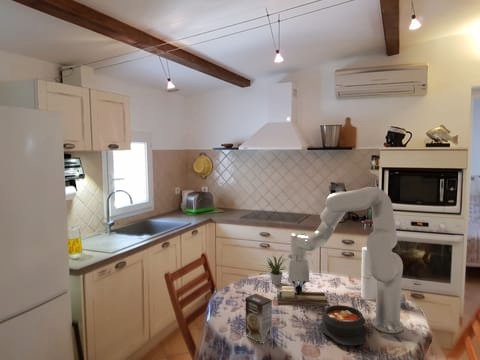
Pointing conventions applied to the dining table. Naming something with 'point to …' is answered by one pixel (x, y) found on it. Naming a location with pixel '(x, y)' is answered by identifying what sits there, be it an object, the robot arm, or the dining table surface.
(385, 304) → the robot arm
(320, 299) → the chute
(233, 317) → the dining table surface
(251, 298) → the coffee box
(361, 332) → the casserole
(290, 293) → the block
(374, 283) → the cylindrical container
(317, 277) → the dining table surface
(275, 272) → the house plant
